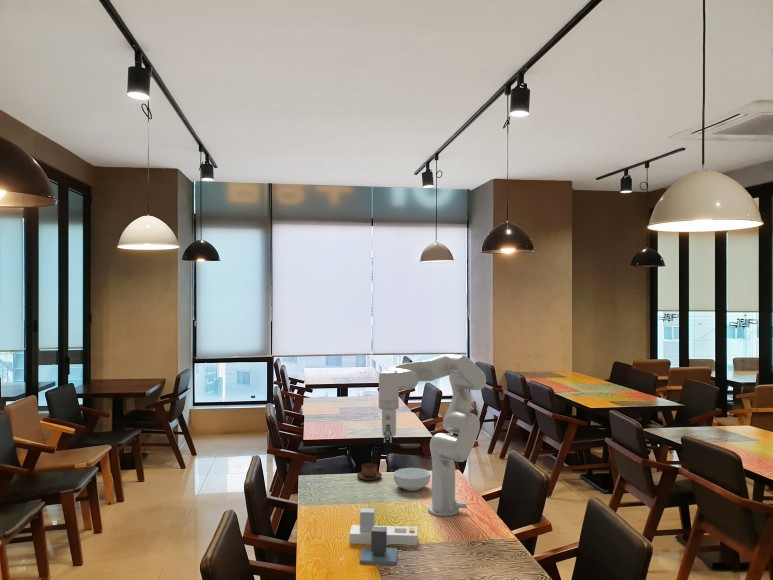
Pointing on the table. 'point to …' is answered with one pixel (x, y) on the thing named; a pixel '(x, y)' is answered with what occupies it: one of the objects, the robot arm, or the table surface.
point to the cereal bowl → (412, 478)
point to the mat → (369, 557)
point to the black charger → (379, 540)
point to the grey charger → (367, 519)
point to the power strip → (393, 535)
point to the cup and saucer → (369, 472)
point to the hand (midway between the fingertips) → (388, 449)
